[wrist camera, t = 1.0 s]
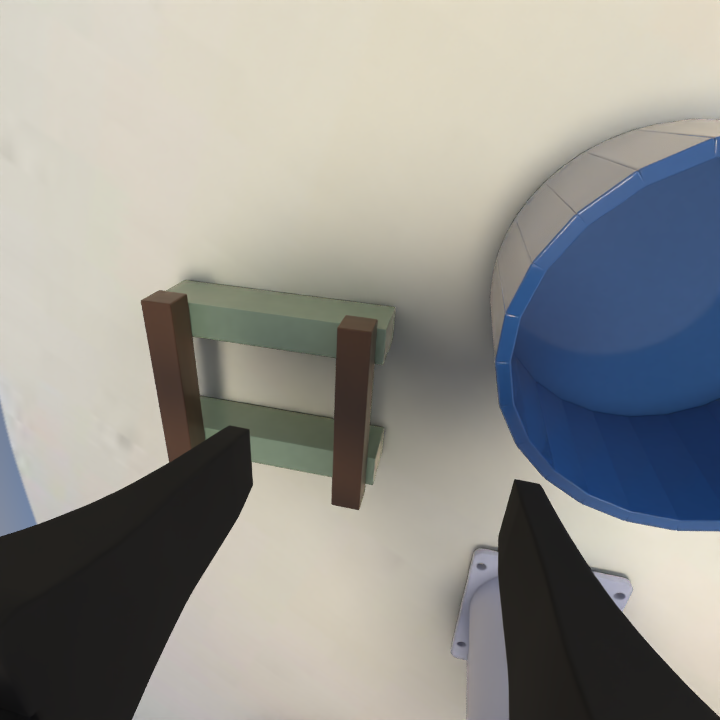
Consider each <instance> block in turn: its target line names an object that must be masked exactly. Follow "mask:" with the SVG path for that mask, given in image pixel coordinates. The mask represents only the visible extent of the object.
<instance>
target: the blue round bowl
mask: <svg viewBox="0 0 720 720" xmlns="http://www.w3.org/2000/svg"><path fill="white" fill-rule="evenodd" d="M490 304H491V318H492V331H493V345H494V359H495V370H496V381H497V391H498V401H499V406H500V409H501V412H502V414H503V416H504V419H505V421H506V423H507V426H508V428H509V430H510V433H511V435H512V437H513V440H514V442H515V444H516V445H517V447H518V448H519V449H520V450H521V452H522V453H523V454H524V455H525V456H526V457H527V459H528V460H529V461H530V462H531V463H532V465H533V466H534V467H535V468H536V469H537V470H538V472H539V473H540V474H541V475H542V476H543V477H544V478H545V479H546V480H548V481H549V482H551V483H552V484H553V485H555V486H556V487H558V488H559V489H561V490H562V491H564V492H565V493H566V494H568V495H569V496H571V497H572V498H574V499H575V500H577V501H578V502H580V503H582V504H584V505H586V506H589V507H591V508H594V509H596V510H598V511H601V512H603V513H606V514H608V515H611V516H613V517H616V518H618V519H621V520H623V521H627V522H632V523H637V524H643V525H648V526H653V527H659V528H664V529H669V530H677V531H720V119H686V120H681V121H673V122H666V123H659V124H654V125H650V126H646V127H643V128H639V129H635V130H631V131H629V132H626V133H623V134H621V135H618V136H616V137H613V138H611V139H608V140H606V141H604V142H602V143H600V144H598V145H596V146H594V147H593V148H591V149H589V150H587V151H585V152H583V153H582V154H580V155H579V156H577V157H576V158H574V159H573V160H571V161H570V162H569V163H567V164H566V165H564V166H563V167H562V168H560V169H559V170H558V171H557V172H556V173H555V174H553V175H552V176H551V177H550V178H549V179H548V180H546V181H545V182H544V183H543V184H542V185H541V186H540V188H539V189H538V190H537V191H536V192H535V193H534V194H533V195H532V196H531V197H530V198H529V199H528V201H527V202H526V204H525V205H524V206H523V208H522V209H521V210H520V212H519V213H518V214H517V216H516V217H515V219H514V221H513V223H512V224H511V226H510V228H509V230H508V231H507V233H506V235H505V237H504V240H503V242H502V245H501V247H500V250H499V252H498V255H497V259H496V263H495V266H494V270H493V276H492V284H491V292H490Z"/></svg>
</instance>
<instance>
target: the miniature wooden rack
mask: <svg viewBox="0 0 720 720" xmlns="http://www.w3.org/2000/svg"><path fill="white" fill-rule="evenodd" d="M166 291H169V292H176V293H184V294H187V298H188V306H189V314H190V322H191V330H192V337H199V338H206V339H212V340H219V341H226V342H232V343H239V344H246V345H252V346H259V347H266V348H272V349H279V350H286V351H293V352H299V353H306V354H313V355H319V356H326V357H333V358H336V348H337V327H338V326H339V324H340V323H341V321H342V320H343V318H344V317H345V315H350V316H357V317H365V318H372V319H377V320H378V325H377V338H376V351H375V364H379V365H383V364H384V361H385V359H386V356H387V353H388V351H389V348H390V345H391V342H392V340H393V330H394V320H395V309H396V308H395V307H390V306H383V305H375V304H367V303H359V302H352V301H344V300H336V299H328V298H320V297H313V296H305V295H297V294H289V293H282V292H274V291H266V290H258V289H250V288H243V287H235V286H227V285H219V284H212V283H204V282H196V281H188V280H184V281H182V282H181V283H179V284H177V285H175V286H174V287H172V288H170V289H168V290H166ZM200 401H201V409H202V417H203V425H204V432H205V440H206V439H208V438H209V437H211V436H213V435H214V434H216V433H217V432H219V431H221V430H222V429H224V428H226V427H227V426H229V425H231V426H236V427H241V428H246V429H250V445H251V462H255V463H260V464H266V465H271V466H276V467H281V468H286V469H292V470H297V471H302V472H307V473H312V474H318V475H323V476H328V477H332V472H333V441H334V419H332V418H326V417H320V416H314V415H309V414H303V413H297V412H291V411H285V410H279V409H274V408H268V407H262V406H256V405H250V404H244V403H239V402H233V401H227V400H221V399H215V398H209V397H204V396H200ZM383 437H384V427H378V426H373V425H370V431H369V444H368V457H367V470H366V483H365V484H369V485H373V483H374V479H375V476H376V472H377V469H378V465H379V462H380V458H381V454H382V448H383Z"/></svg>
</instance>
